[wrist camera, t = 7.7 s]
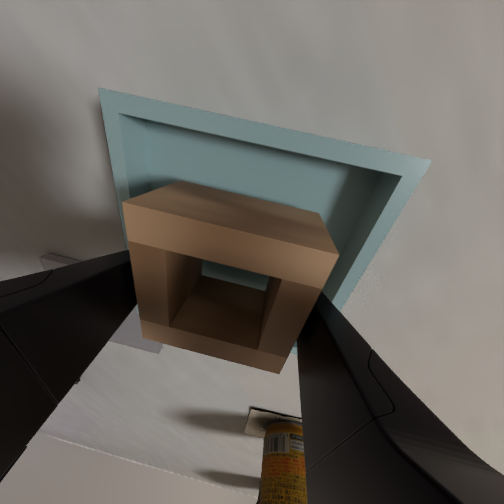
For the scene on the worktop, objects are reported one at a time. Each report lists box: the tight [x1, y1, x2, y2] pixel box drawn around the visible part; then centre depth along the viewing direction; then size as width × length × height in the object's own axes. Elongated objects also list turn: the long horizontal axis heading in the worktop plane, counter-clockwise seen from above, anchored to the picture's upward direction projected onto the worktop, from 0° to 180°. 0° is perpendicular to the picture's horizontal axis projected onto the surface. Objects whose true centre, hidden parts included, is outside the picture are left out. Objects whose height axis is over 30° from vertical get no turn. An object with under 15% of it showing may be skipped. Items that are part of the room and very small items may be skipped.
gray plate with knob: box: [39, 253, 162, 354], centre depth 14 cm, size 8×8×3 cm
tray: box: [98, 88, 432, 354], centre depth 10 cm, size 11×11×2 cm
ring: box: [122, 180, 339, 374], centre depth 8 cm, size 6×6×4 cm
